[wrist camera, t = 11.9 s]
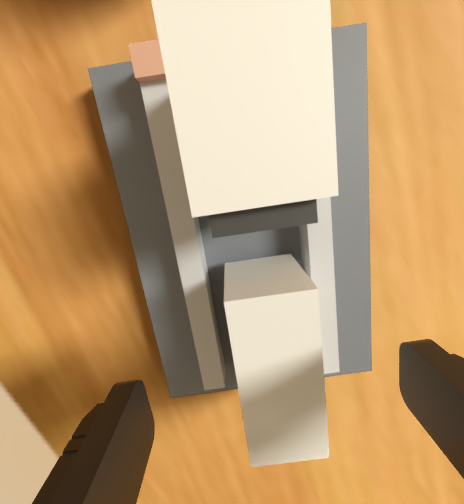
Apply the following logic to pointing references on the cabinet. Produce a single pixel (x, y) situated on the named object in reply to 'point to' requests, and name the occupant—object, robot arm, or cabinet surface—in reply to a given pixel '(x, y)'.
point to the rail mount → (242, 171)
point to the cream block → (277, 358)
